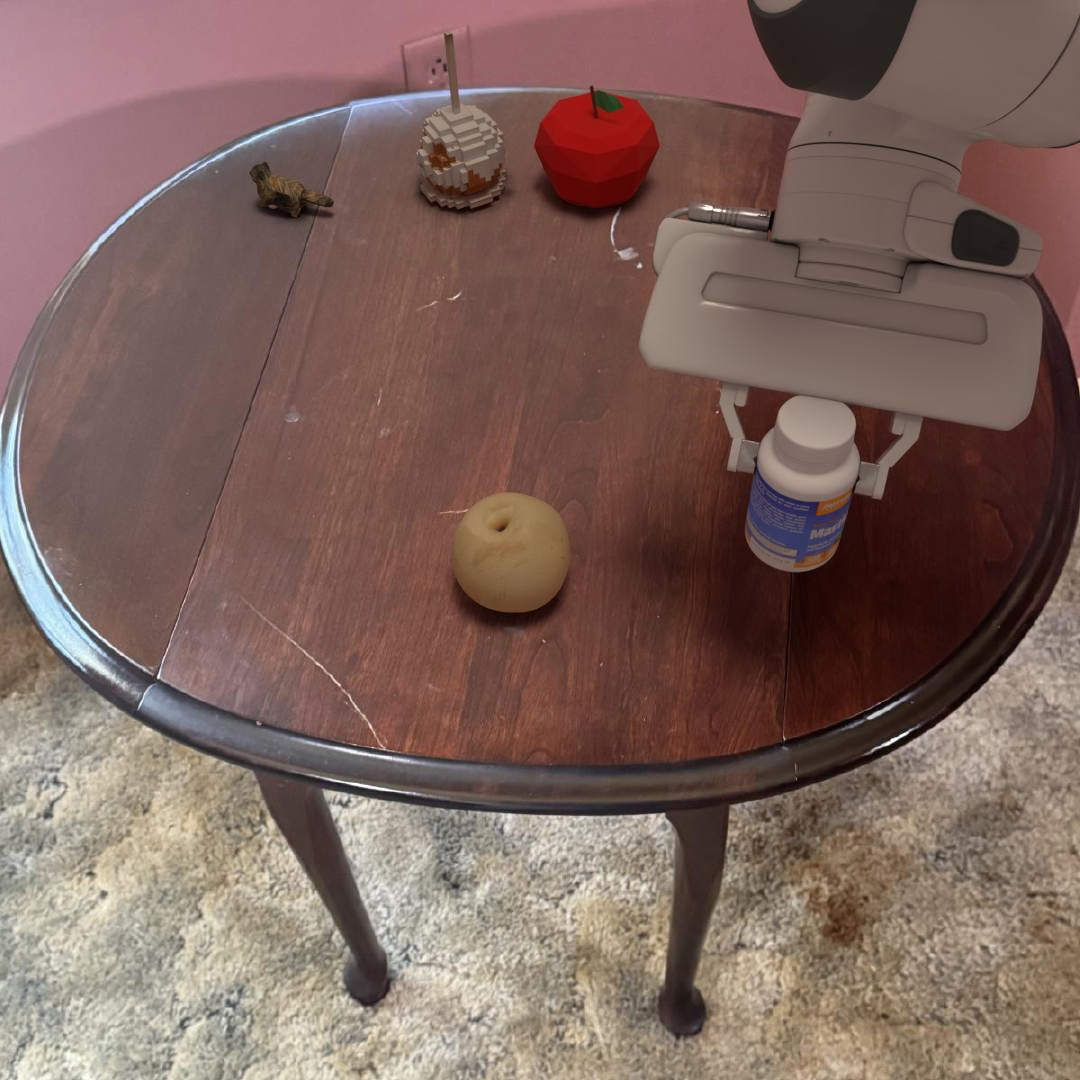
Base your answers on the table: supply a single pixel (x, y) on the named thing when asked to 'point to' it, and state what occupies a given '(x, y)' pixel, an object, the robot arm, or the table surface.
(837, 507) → the pill bottle
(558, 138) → the apple
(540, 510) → the apple
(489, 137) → the caramel apple
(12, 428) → the table surface
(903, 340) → the robot arm
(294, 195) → the cat figurine
